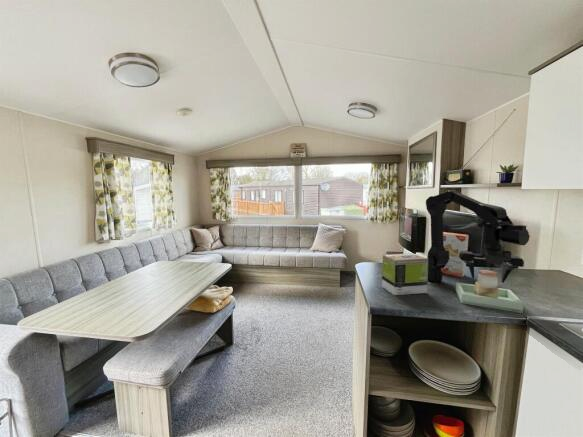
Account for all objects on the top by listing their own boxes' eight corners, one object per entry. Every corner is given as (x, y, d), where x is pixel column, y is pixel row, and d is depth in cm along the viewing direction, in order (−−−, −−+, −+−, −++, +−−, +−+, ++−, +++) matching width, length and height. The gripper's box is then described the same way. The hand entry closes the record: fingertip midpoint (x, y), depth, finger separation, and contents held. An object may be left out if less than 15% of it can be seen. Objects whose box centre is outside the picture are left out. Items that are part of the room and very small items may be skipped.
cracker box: (431, 271, 135) (434, 232, 133) (435, 269, 139) (438, 231, 137) (462, 278, 125) (465, 235, 122) (465, 275, 129) (469, 234, 126)
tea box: (411, 285, 114) (413, 252, 113) (427, 293, 104) (429, 258, 103) (380, 286, 112) (382, 253, 110) (393, 296, 102) (395, 259, 100)
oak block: (477, 299, 97) (478, 286, 96) (474, 293, 102) (475, 281, 102) (497, 302, 94) (498, 289, 94) (492, 296, 100) (494, 284, 99)
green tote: (461, 302, 96) (461, 294, 95) (455, 290, 108) (456, 282, 108) (522, 313, 88) (523, 303, 88) (509, 298, 101) (510, 289, 100)
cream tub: (479, 286, 96) (480, 273, 96) (475, 281, 102) (476, 269, 101) (499, 289, 94) (500, 275, 93) (494, 284, 99) (495, 271, 98)
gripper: (465, 241, 93) (462, 283, 94) (532, 246, 85) (527, 292, 86) (460, 236, 103) (457, 274, 104) (520, 241, 95) (515, 281, 96)
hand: (487, 280), depth 97 cm, fingers open, 9 cm apart
